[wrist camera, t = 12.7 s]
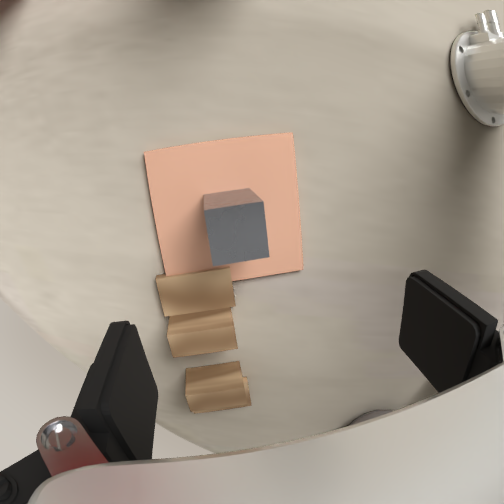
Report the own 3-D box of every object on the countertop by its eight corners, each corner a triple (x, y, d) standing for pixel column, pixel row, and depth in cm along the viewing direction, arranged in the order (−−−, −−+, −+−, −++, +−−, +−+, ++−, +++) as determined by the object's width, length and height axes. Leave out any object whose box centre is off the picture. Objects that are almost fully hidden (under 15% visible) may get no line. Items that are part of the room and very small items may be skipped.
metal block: (203, 194, 28) (203, 210, 21) (249, 187, 28) (263, 201, 22) (210, 238, 29) (213, 266, 23) (254, 231, 29) (269, 257, 23)
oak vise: (156, 275, 30) (150, 296, 26) (229, 264, 31) (233, 283, 27) (194, 407, 36) (194, 434, 32) (250, 399, 37) (256, 426, 33)
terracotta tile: (145, 151, 26) (143, 151, 26) (291, 132, 28) (292, 132, 27) (170, 288, 31) (169, 290, 30) (301, 267, 32) (303, 269, 31)
